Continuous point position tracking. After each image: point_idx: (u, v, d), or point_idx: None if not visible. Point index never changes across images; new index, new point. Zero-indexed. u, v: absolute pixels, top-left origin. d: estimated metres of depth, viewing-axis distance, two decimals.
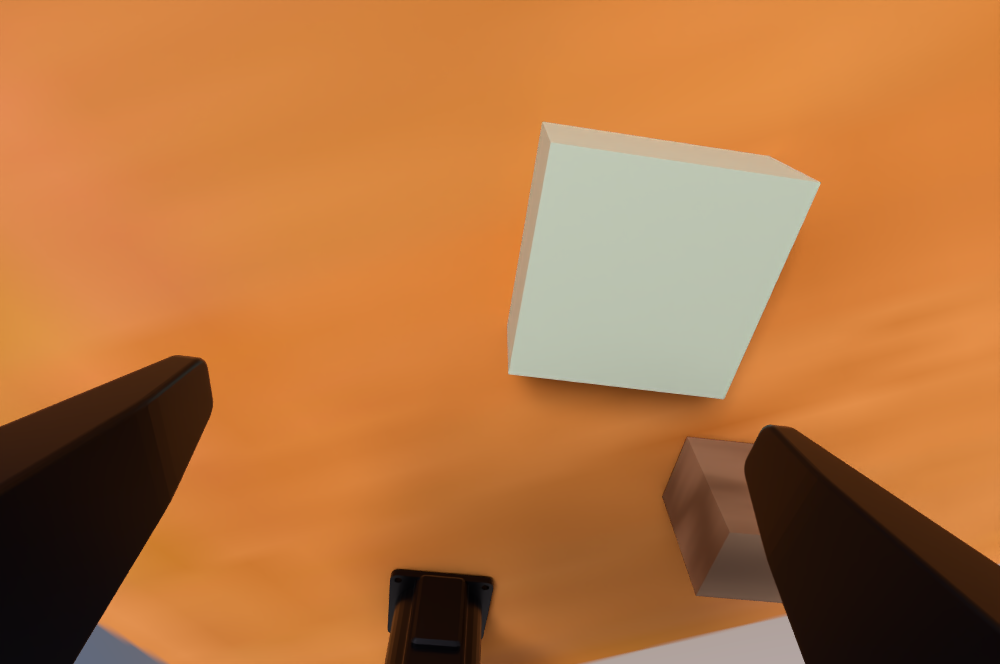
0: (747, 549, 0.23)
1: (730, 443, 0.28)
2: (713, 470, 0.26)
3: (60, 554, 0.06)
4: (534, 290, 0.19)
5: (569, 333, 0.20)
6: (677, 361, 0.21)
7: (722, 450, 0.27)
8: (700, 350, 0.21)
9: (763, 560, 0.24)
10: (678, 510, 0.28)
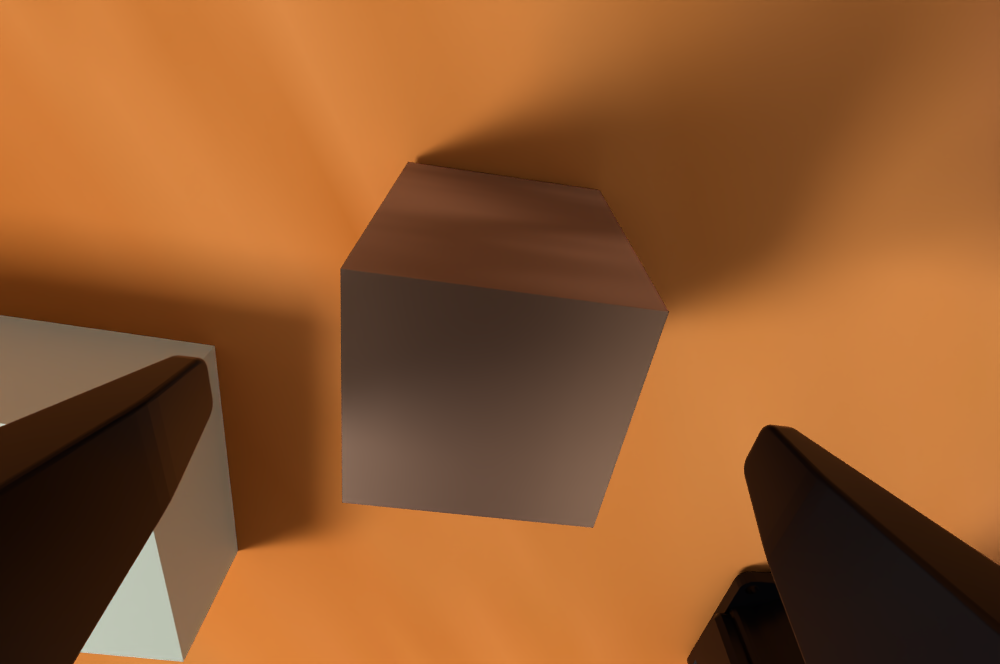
0: (402, 460, 0.09)
1: None
2: None
3: (60, 554, 0.06)
4: None
5: None
6: None
7: None
8: None
9: (447, 418, 0.08)
10: None
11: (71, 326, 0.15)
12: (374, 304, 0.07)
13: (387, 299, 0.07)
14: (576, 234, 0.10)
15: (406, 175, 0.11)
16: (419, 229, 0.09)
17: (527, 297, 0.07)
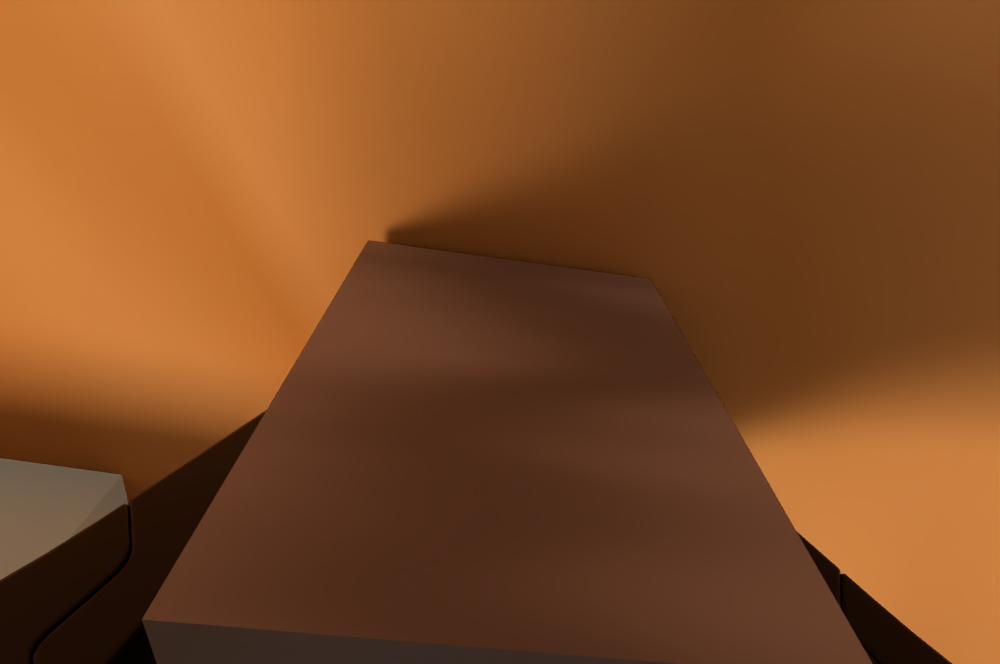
0: None
1: None
2: None
3: None
4: None
5: None
6: None
7: None
8: None
9: None
10: None
11: None
12: None
13: (259, 662, 0.03)
14: (638, 401, 0.06)
15: (360, 271, 0.07)
16: (358, 423, 0.05)
17: (573, 661, 0.03)
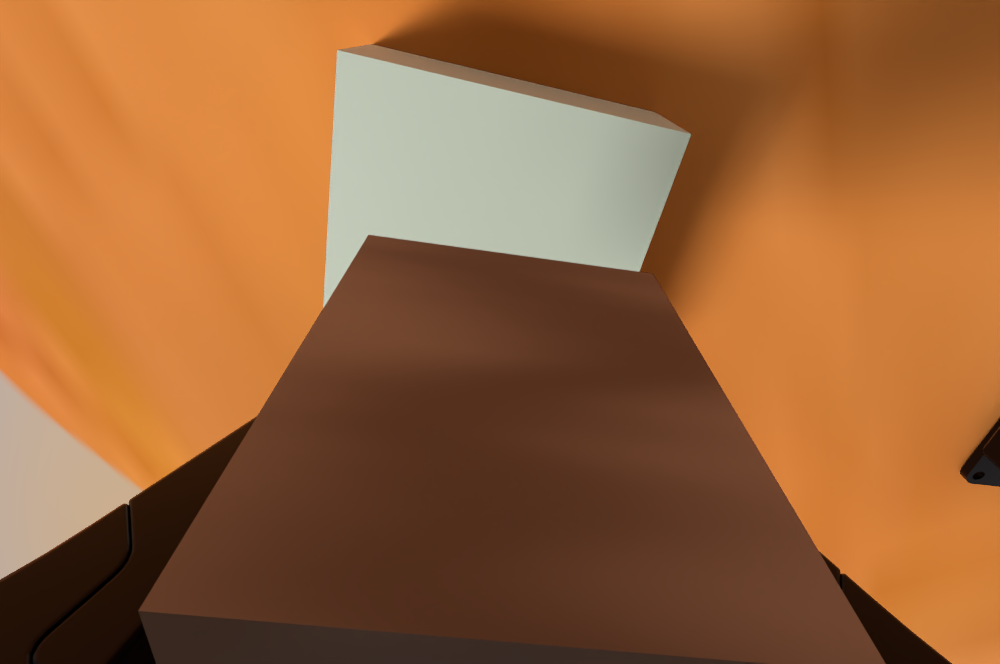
0: None
1: None
2: None
3: None
4: None
5: None
6: (603, 213, 0.15)
7: None
8: (590, 182, 0.14)
9: None
10: None
11: None
12: (230, 663, 0.03)
13: (258, 656, 0.03)
14: (641, 394, 0.06)
15: (360, 265, 0.07)
16: (359, 414, 0.05)
17: (578, 653, 0.03)
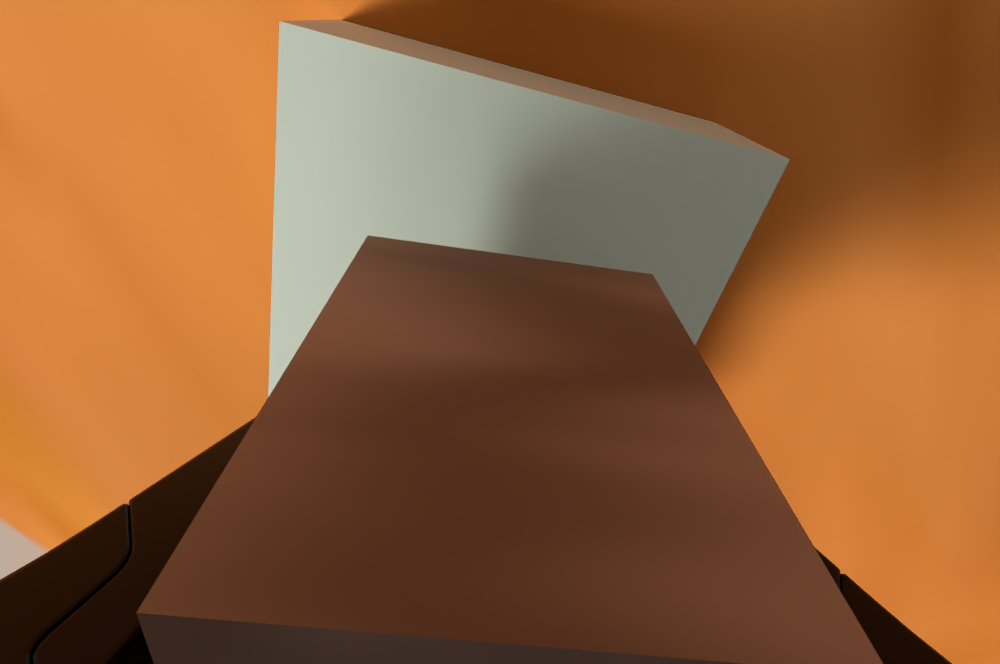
0: None
1: None
2: None
3: None
4: None
5: None
6: (656, 263, 0.11)
7: None
8: (641, 221, 0.10)
9: None
10: None
11: (566, 82, 0.12)
12: (227, 663, 0.03)
13: (257, 659, 0.03)
14: (640, 395, 0.06)
15: (359, 266, 0.07)
16: (358, 415, 0.05)
17: (576, 656, 0.03)
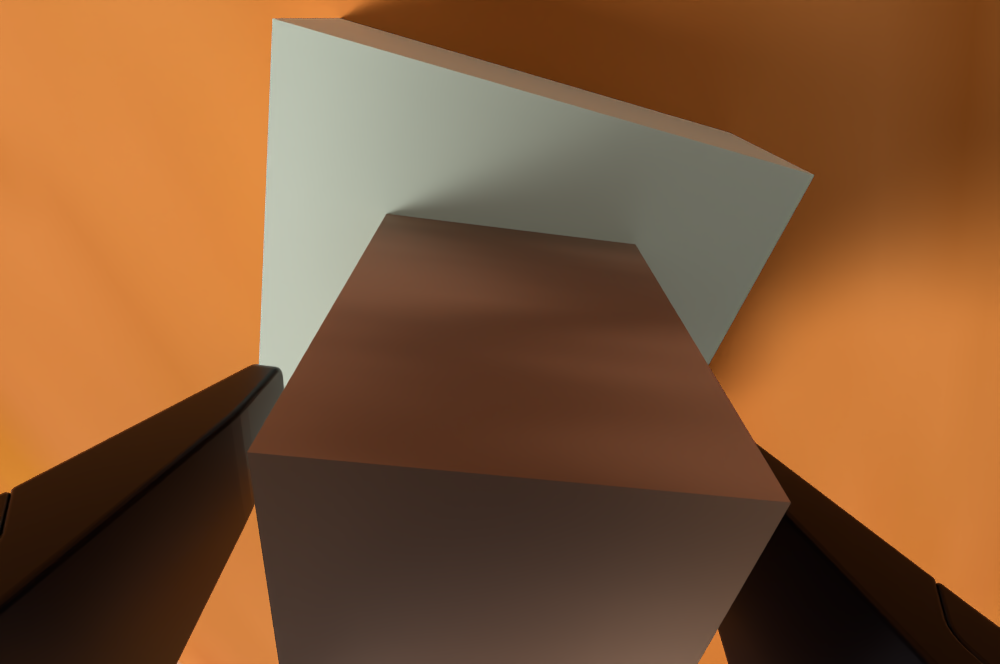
0: None
1: None
2: None
3: (168, 564, 0.06)
4: None
5: None
6: (670, 281, 0.10)
7: None
8: (655, 238, 0.10)
9: (435, 634, 0.05)
10: None
11: None
12: (308, 498, 0.04)
13: (329, 492, 0.04)
14: (617, 331, 0.07)
15: (381, 236, 0.08)
16: (390, 341, 0.06)
17: (560, 486, 0.04)
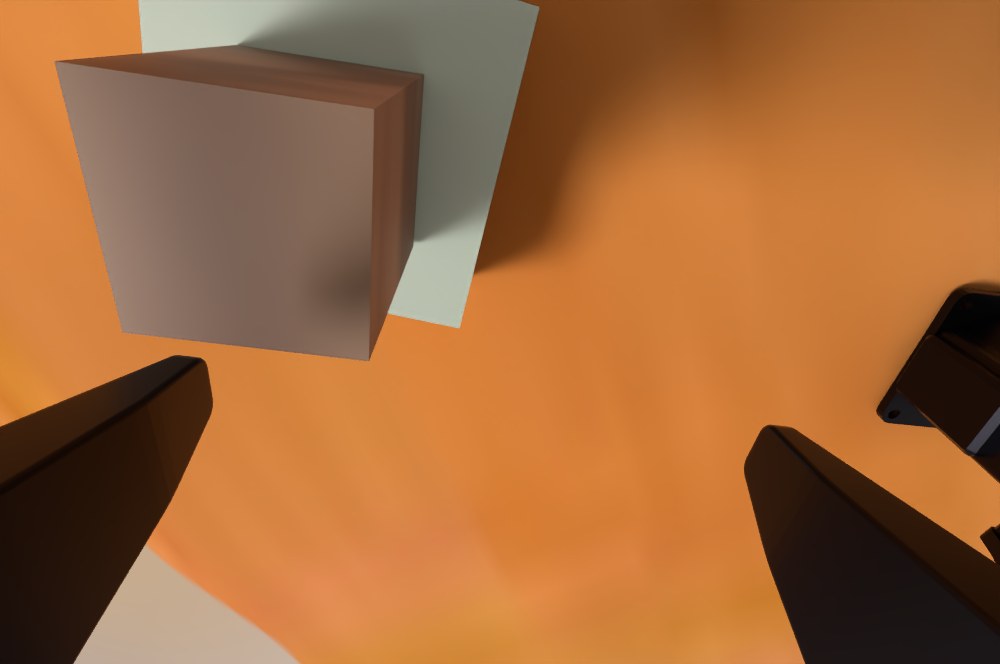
0: (167, 282, 0.09)
1: None
2: None
3: (60, 554, 0.06)
4: None
5: None
6: (453, 99, 0.13)
7: None
8: (435, 61, 0.13)
9: (197, 233, 0.09)
10: None
11: None
12: (95, 101, 0.08)
13: (107, 96, 0.08)
14: (351, 81, 0.10)
15: (220, 47, 0.12)
16: (180, 61, 0.09)
17: (237, 93, 0.08)
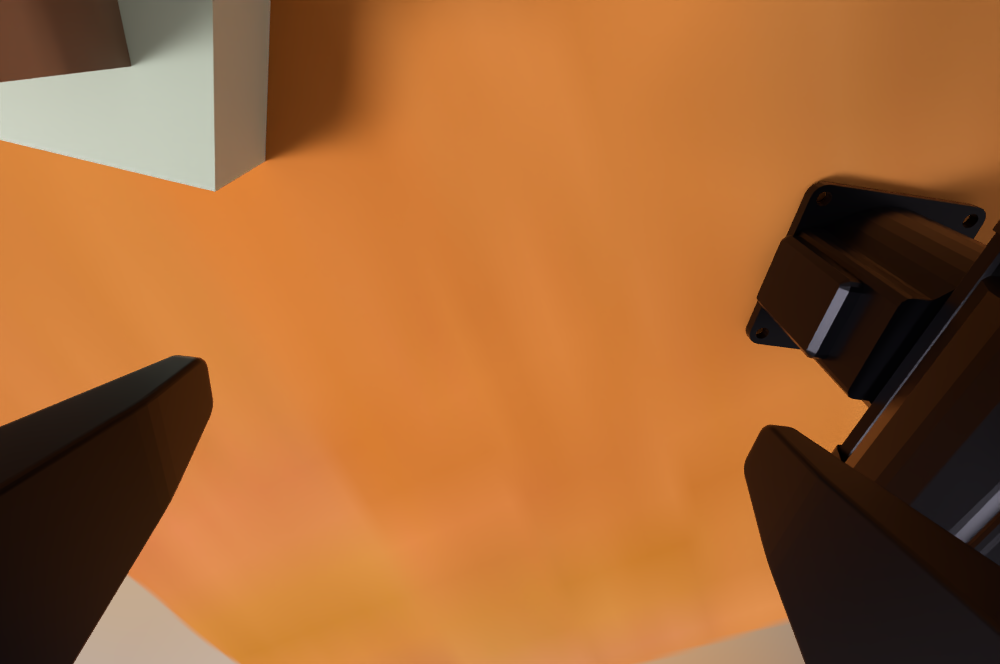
0: None
1: None
2: None
3: (60, 554, 0.06)
4: (71, 143, 0.15)
5: (127, 96, 0.14)
6: None
7: None
8: None
9: None
10: None
11: None
12: None
13: None
14: None
15: None
16: None
17: None
